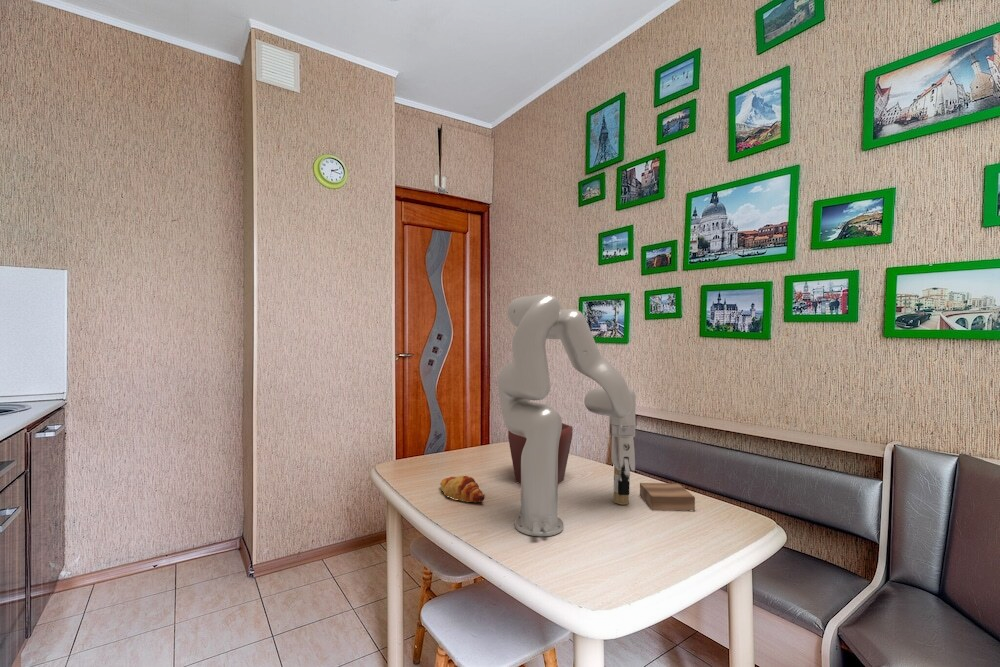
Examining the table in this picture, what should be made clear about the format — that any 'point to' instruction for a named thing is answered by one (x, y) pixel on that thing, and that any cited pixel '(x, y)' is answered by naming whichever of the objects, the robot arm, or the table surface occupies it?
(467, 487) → the croissant
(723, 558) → the table surface
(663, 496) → the walnut plinth
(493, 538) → the table surface
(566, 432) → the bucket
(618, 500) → the sprinkles bottle
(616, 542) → the table surface
